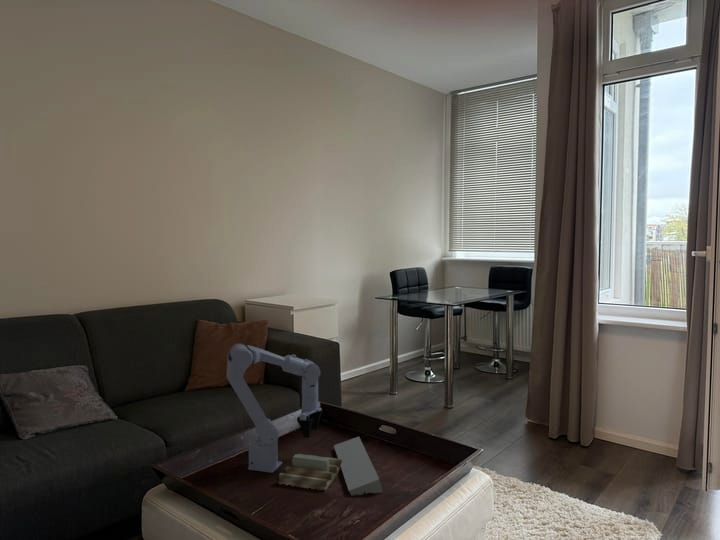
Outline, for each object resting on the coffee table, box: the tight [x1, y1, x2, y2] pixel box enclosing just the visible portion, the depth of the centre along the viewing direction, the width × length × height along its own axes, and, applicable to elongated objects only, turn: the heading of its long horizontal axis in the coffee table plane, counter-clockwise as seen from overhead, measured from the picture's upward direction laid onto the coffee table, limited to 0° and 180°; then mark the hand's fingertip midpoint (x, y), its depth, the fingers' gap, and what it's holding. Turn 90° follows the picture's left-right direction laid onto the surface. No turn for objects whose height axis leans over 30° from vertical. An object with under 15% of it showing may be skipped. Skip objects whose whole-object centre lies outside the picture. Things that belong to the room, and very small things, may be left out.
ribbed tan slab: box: [278, 453, 342, 492], centre depth 167 cm, size 16×17×3 cm
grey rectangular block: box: [333, 436, 383, 497], centre depth 172 cm, size 34×5×10 cm
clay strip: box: [292, 453, 330, 472], centre depth 167 cm, size 12×2×5 cm, turn 74°
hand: (310, 433), depth 179 cm, fingers open, 7 cm apart
